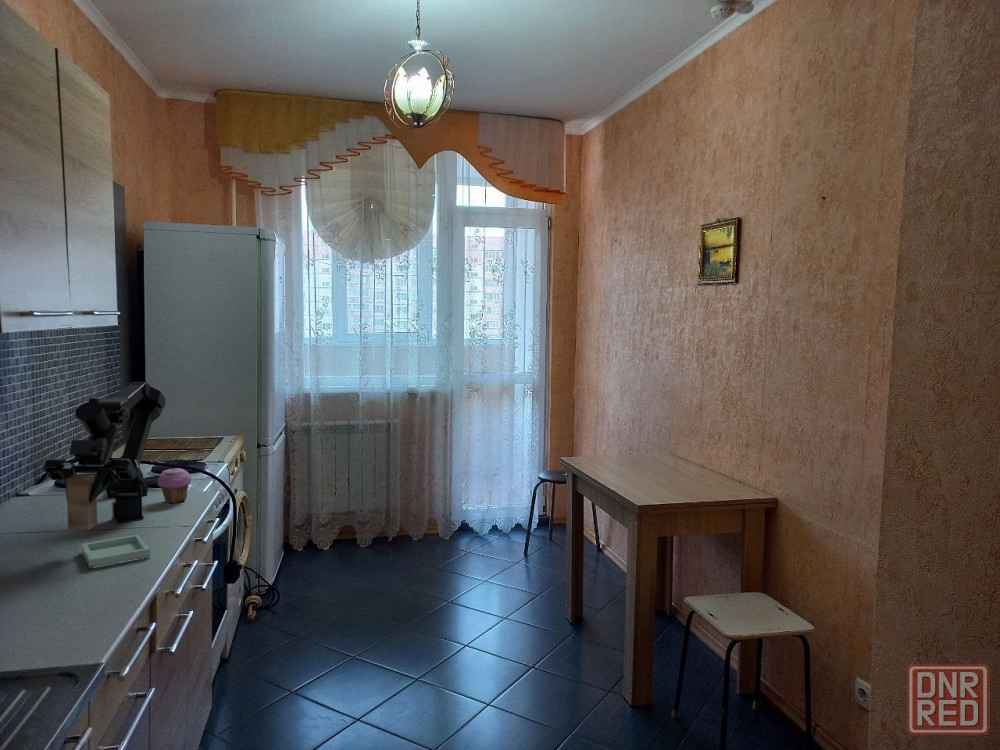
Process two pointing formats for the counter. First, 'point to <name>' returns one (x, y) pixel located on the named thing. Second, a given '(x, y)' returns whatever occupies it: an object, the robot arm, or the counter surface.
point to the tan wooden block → (81, 502)
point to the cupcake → (174, 484)
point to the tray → (115, 550)
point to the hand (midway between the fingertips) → (79, 501)
